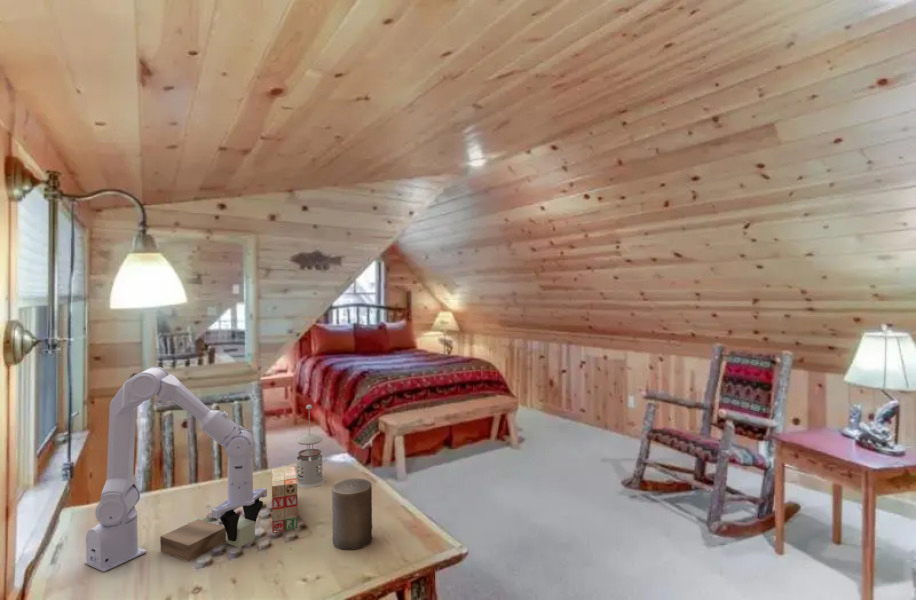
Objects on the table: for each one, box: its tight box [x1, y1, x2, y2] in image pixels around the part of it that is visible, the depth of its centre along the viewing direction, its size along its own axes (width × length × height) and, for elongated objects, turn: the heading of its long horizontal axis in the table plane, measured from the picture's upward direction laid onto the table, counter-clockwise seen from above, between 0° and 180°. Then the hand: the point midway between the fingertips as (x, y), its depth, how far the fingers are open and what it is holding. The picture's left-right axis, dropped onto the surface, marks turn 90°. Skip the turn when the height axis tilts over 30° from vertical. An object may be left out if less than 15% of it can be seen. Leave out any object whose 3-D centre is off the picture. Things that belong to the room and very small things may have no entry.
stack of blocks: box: [270, 466, 298, 533], centre depth 141 cm, size 21×6×12 cm, turn 20°
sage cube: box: [226, 517, 256, 548], centre depth 125 cm, size 4×4×4 cm
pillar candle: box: [331, 478, 374, 551], centre depth 126 cm, size 10×10×15 cm
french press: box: [295, 404, 326, 489], centre depth 164 cm, size 10×12×25 cm
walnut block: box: [159, 518, 227, 562], centre depth 123 cm, size 10×10×4 cm
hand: (241, 535), depth 125 cm, fingers closed on sage cube, 4 cm apart
